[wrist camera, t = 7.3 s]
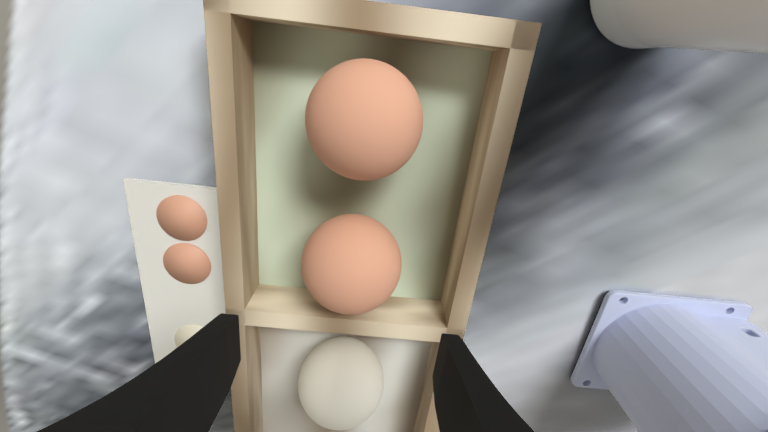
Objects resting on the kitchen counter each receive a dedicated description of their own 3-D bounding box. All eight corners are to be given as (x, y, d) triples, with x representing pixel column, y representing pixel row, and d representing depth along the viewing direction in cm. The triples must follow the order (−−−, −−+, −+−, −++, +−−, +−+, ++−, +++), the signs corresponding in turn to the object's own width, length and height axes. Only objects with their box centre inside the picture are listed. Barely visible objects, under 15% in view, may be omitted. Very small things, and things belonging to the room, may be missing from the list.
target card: (235, 189, 20) (233, 191, 20) (245, 374, 26) (243, 379, 25) (126, 177, 20) (121, 179, 20) (159, 367, 25) (155, 372, 25)
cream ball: (388, 322, 23) (389, 388, 18) (379, 381, 25) (378, 454, 20) (308, 315, 22) (289, 380, 18) (306, 375, 24) (287, 447, 20)
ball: (425, 66, 17) (440, 66, 12) (410, 169, 19) (418, 203, 14) (318, 53, 17) (293, 48, 12) (314, 158, 19) (291, 189, 14)
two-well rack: (512, 31, 17) (541, 23, 14) (416, 457, 29) (421, 506, 26) (237, -5, 17) (201, -21, 13) (254, 445, 28) (238, 494, 25)
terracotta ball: (404, 204, 20) (412, 247, 15) (393, 282, 21) (396, 341, 17) (312, 195, 19) (291, 235, 15) (309, 274, 21) (289, 332, 17)
